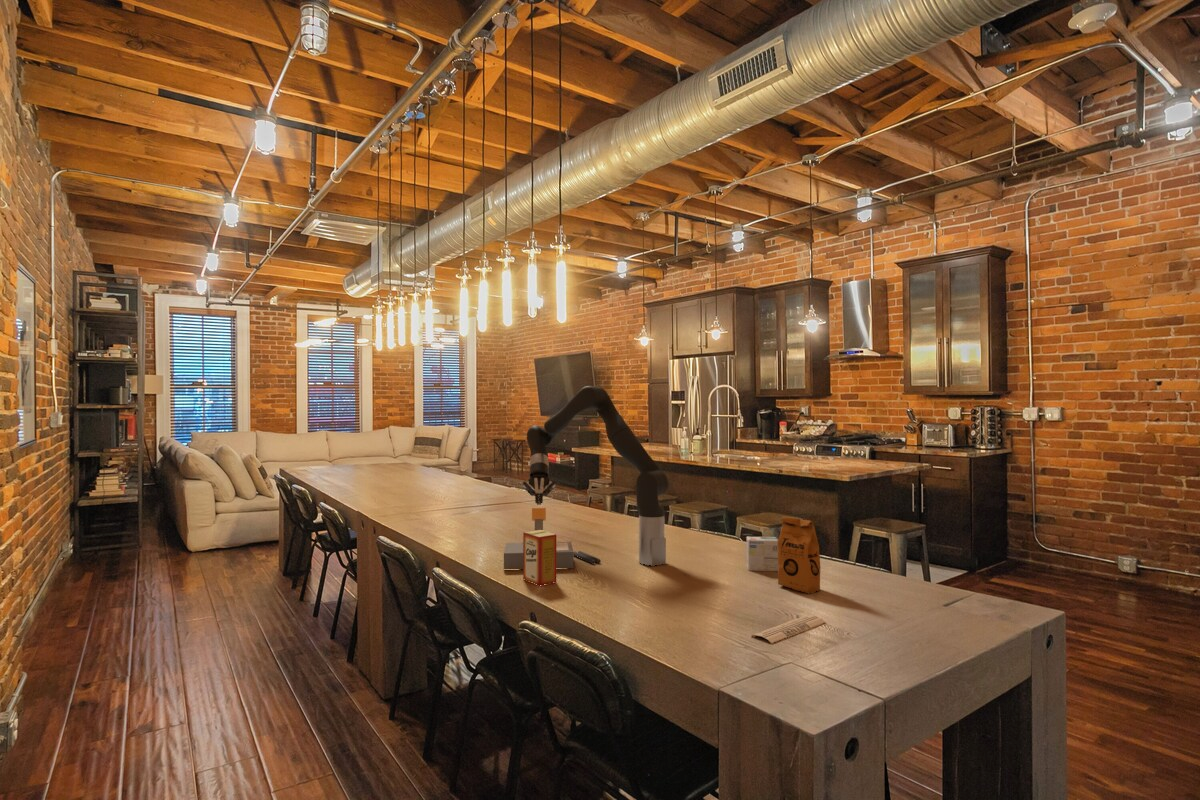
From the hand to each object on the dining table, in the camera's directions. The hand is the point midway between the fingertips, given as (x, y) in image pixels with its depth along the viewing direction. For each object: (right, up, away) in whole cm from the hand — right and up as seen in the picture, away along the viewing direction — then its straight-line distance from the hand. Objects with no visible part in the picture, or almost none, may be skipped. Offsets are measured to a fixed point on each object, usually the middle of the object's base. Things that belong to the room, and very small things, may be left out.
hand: (539, 503), depth 242 cm
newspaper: (+72, -21, -77) cm, 108 cm away
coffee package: (+86, -20, -41) cm, 97 cm away
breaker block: (+1, -20, -12) cm, 23 cm away
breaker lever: (+1, -13, -12) cm, 18 cm away
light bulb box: (+80, -20, -18) cm, 84 cm away
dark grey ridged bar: (+18, -20, -5) cm, 27 cm away
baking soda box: (+3, -20, -34) cm, 39 cm away
